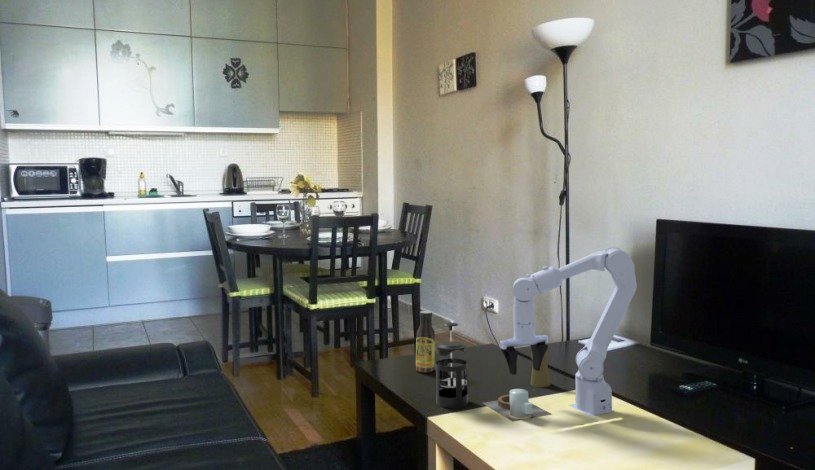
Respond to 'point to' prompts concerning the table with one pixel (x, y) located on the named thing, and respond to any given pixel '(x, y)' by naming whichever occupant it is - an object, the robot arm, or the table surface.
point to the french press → (451, 387)
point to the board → (504, 409)
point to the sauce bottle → (425, 344)
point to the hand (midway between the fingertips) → (524, 371)
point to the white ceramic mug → (519, 403)
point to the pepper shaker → (541, 374)
